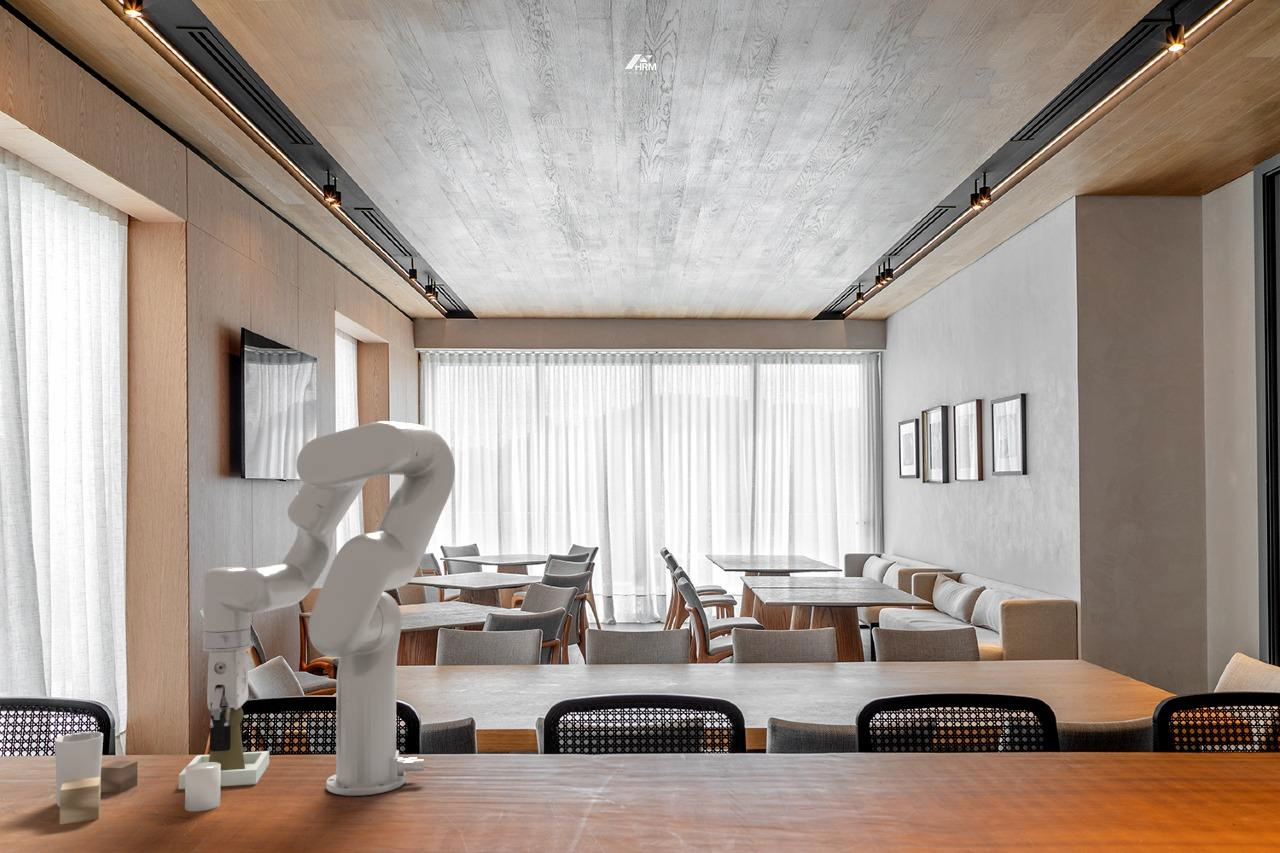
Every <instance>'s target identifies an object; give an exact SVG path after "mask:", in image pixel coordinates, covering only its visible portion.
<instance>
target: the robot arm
mask: <svg viewBox="0 0 1280 853" xmlns="http://www.w3.org/2000/svg"><path fill="white" fill-rule="evenodd" d="M296 472H297V474H298V477H299V478H300V480H301V482H302V483H303V484H302V485H301V487H300V488H299V490H298V492H297V493H296V495H295V496H294V498H293V500H292V501H291V502H290V504H289V506H288V507H287V516H288V518H289V520H290V522H291V523H292V524H293V525H294V526H296V528H297V534H296V538H295V540H294V542H293V544H292V546H291V548H290V549H289V551H288V552H287V554H286V555H285V557H284V558H283V560H282V561H281V563H278V564H272V565H265V566H261V567H260V566H259V567H254V568H252V567H251V568H246V567H244V566H243V567H242V566H224V567H223V566H222V567H214V568H210V569H208V570H206V572H205V573H204V577H203V609H202V610H203V613H202V614H203V622H202V625H203V626H202V628H203V629H202V630H203V632H202V650H203V651H204V652H207V653H208V663H207V667H208V668H207V686H206V687H207V690H206V691H207V692H206V693H207V696H206V697H207V701H206V702H207V709H208V710H209V711H210V712H212V714H211V713H210V715H211V721H209V722H210V723H209V752H210V751H211V752H213V751H228V750H230V748H231V725H229V720H230V712H231V708H234V710H237V709H239V708H240V707H241V708H242V706H243V705H244V704H245V703H246V702H247V701H248V699H249V677H248V676H249V675H248V674H249V671H248V670H249V669H248V655H247V649H249V648H251V632H252V631H251V626H252V625H251V624H252V623H251V621H252V620H251V614H260V613H265V612H269V611H274V610H277V609H283V608H287V607H292V606H295V605H296V604H298V603H301V601H302V600H303V599H304V598H305V597H306V596H307V595H308V594H309V593H310V592H311V590H312V589H313V588H314V586H315V585H316V583H317V581H318V580H319V578H320V577H321V575H322V574H323V572H324V570H325V569H326V567H327V565H328V563H329V559H330V557H331V552H332V546H333V536H334V532H335V531H336V529H337V528H338V526H339V525H340V523H341V521H342V520H343V518H344V517H345V516H346V513H347V512H348V510H349V509H350V507H351V506H352V505H353V503H354V501H355V500H356V499H357V497H358V495H360V494H359V493H360V492H361V491H362V489H363V487H364V486H365V484H366V483H367V481H368V480H369V479H371V478H375V477H381V476H387V475H390V476H391V475H393V476H394V475H395V476H396V475H398V476H399V475H400V476H403V477H404V478H403V480H402V482H401V484H400V486H399V487H398V488H397V489H396V491H395V492H394V493H393V495H392V496H391V498H390V500H389V502H388V503H387V506H386V509H385V512H384V514H383V516H382V518H381V520H380V522H379V524H378V527H377V528H375V530H374V531H373V532H367V533H362V534H359V535H356V536H354V537H352V538H351V539H349V540H348V541H347V542H346V543H344V544H343V546H342V547H340V549H339V551H338V552H337V553H336V555H335V557H334V559H333V561H332V563H331V565H330V567H329V570H328V573H327V575H326V577H325V579H324V582H323V583H322V586H321V588H320V590H319V592H318V595H317V597H316V600H315V602H314V605H313V607H312V610H311V613H310V616H309V619H308V620H309V621H308V636H309V639H310V642H311V644H312V646H313V647H314V648H315V650H316V651H317V652H318V653H320V654H322V655H324V656H326V657H329V658H339V659H338V664H337V671H336V718H335V719H336V721H335V722H336V726H335V727H336V732H335V733H336V741H335V742H336V745H335V746H336V750H335V751H336V752H335V754H336V755H335V760H336V761H335V763H336V765H335V766H336V767H335V768H336V769H335V770H336V771H335V774H333V775H331V776H329V777H328V778H327V779H326V782H325V788H326V790H327V791H328V792H330V793H331V794H335V795H340V796H350V797H351V796H369V795H370V796H371V795H377V794H382V793H386V792H390V791H393V790H396V789H398V788H400V787H402V786H403V785H404V784H405V783H406V781H407V774H406V773H407V772H413V773H419V772H420V773H421V772H424V771H425V759H424V758H422V759H421V758H420V759H418V756H417V757H407V758H403V756H400V750H399V749H397V675H398V674H397V670H398V669H397V666H398V665H397V663H398V651H399V644H400V639H401V634H402V633H401V631H402V614H401V613H402V612H401V609H400V607H399V604H398V603H397V601H396V600H395V599H394V598H393V596H392V595H390V594H389V593H387V592H386V591H392V590H395V589H399V588H401V587H403V586H406V585H407V584H409V583H410V582H411V581H412V580H413V578H414V577H415V576H416V573H417V571H418V569H419V567H420V564H421V563H422V560H423V558H424V554H425V553H426V550H427V549H428V546H429V543H430V541H431V539H432V536H433V534H434V531H435V528H436V525H437V523H438V521H439V519H440V516H441V515H442V513H443V511H444V508H445V506H446V504H447V501H448V500H449V497H450V494H451V492H452V489H453V485H454V481H455V477H456V476H455V474H456V473H455V472H456V468H455V460H454V456H453V453H452V450H451V449H450V447H449V445H448V443H447V441H445V439H444V438H443V437H442V435H440V434H439V433H438V432H437V431H435V430H434V429H432V428H430V427H427V426H425V425H422V424H416V423H409V422H400V421H389V420H382V421H374V422H371V423H367V424H363V425H359V426H355V427H351V428H347V429H343V430H340V431H336V432H332V433H328V434H324V435H320V436H317V437H315V438H313V439H311V440H310V441H308V442H307V443H306V444H305V445H304V446H303V447H302V449H301V450H300V451H299V453H298V455H297V460H296ZM221 706H227V707H221ZM224 713H226V714H224ZM242 721H243V720H242ZM242 721H241V723H240V731H241V735H242V727H243V726H242V725H243V722H242Z"/></svg>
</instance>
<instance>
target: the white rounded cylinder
mask: <svg viewBox="0 0 1280 853" xmlns="http://www.w3.org/2000/svg"><path fill="white" fill-rule="evenodd" d="M184 769H185V789H184V810H186V811H188V812H204V811H210V810H213V809H215V808H218V807H220V806H221V790H222V789H221V787H222V786H221V764H220V763H217V762H203V763H197V764H193V765H190V766H188V767H187V766H186V767H184Z"/></svg>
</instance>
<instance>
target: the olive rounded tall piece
mask: <svg viewBox="0 0 1280 853" xmlns="http://www.w3.org/2000/svg"><path fill="white" fill-rule="evenodd" d="M221 707H227V706H221ZM211 714H212V711H210V715H209V718H210V721H211ZM224 714H226V713H224ZM243 719H244V711H243V708H242V706H241V707H240V708H239V709H237V710H234V708H231V712H230V720H229V725H231V748H230V750H228V751H213V752H211V751H210V750H209V755H210V756H209V762H217V763H220V764H221V770H236V769H245V762H244V755H243V752H244V747H243V741H242V734H241V731H240V723H241V721H243ZM210 721H209V722H210Z"/></svg>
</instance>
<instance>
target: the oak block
mask: <svg viewBox="0 0 1280 853" xmlns="http://www.w3.org/2000/svg"><path fill="white" fill-rule="evenodd" d="M100 791H101V777H95V778H87V779H79V780H71V781H63V784H62V787H61V790H60V807H59V825H67V824H73V823H74V824H75V823H81V822H87V821H88V822H89V821H94V820H99V818H100V814H101V813H100V812H101V792H100Z"/></svg>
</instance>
